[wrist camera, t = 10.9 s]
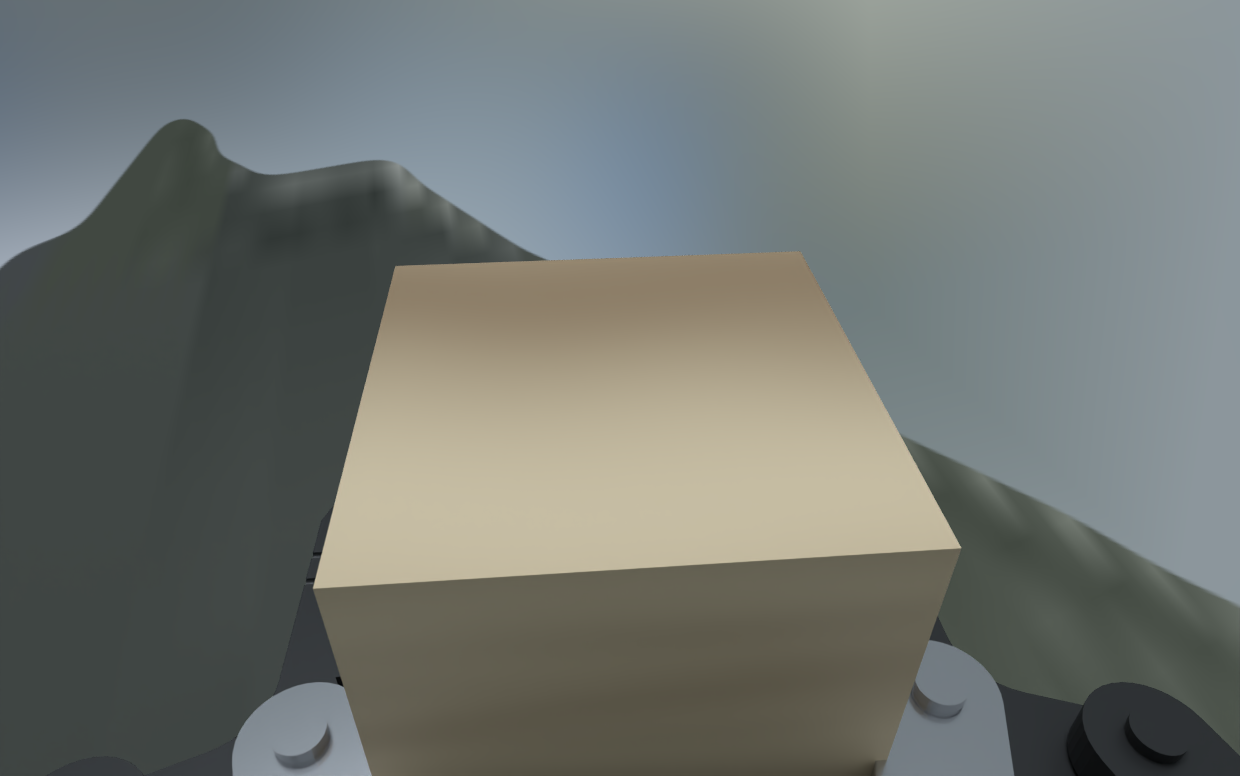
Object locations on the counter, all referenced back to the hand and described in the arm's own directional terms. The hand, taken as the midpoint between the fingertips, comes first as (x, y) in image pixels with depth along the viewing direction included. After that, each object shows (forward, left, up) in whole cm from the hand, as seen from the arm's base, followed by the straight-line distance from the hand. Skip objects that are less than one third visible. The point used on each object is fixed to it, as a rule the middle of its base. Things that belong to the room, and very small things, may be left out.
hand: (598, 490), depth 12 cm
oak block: (-1, -3, -6) cm, 7 cm away
